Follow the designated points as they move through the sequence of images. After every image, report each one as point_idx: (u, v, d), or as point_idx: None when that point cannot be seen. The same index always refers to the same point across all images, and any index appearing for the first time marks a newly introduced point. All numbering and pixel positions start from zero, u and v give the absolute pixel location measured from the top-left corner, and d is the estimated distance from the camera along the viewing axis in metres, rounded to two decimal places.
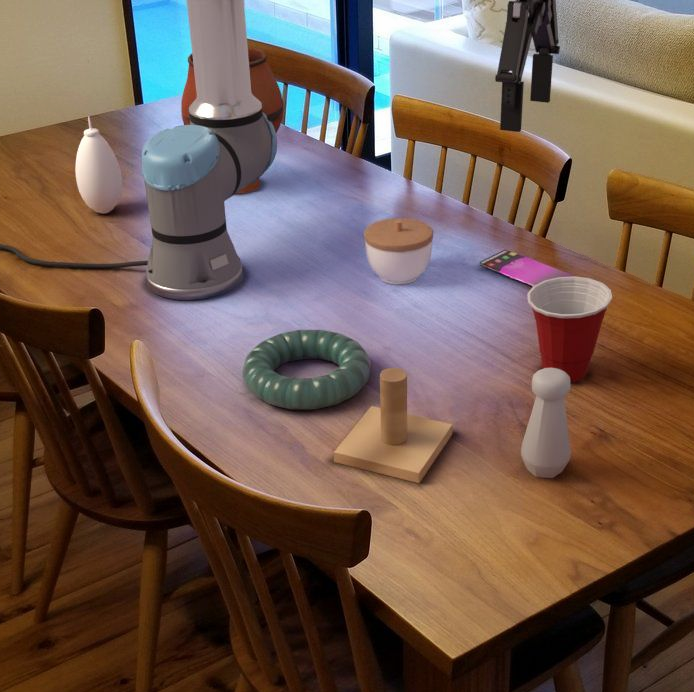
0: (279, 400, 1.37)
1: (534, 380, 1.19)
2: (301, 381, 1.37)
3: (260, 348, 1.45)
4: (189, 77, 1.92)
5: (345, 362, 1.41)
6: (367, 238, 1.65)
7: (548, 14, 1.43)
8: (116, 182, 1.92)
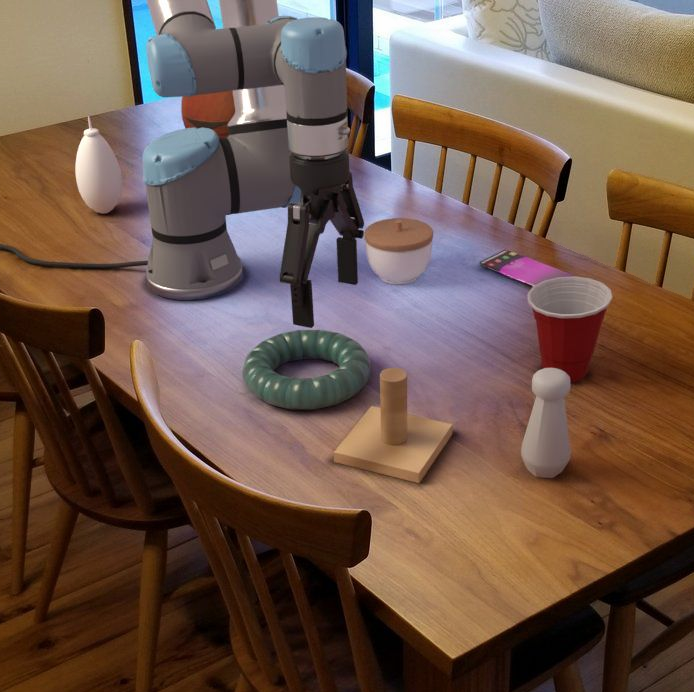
0: (279, 400, 1.37)
1: (534, 380, 1.19)
2: (301, 381, 1.37)
3: (260, 348, 1.45)
4: None
5: (345, 362, 1.41)
6: (367, 238, 1.65)
7: (341, 207, 1.39)
8: (116, 182, 1.92)
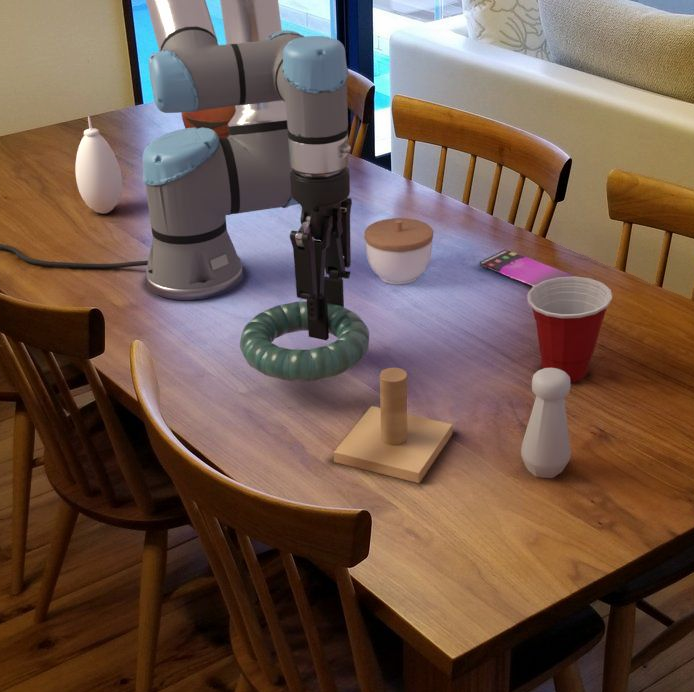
0: (276, 371, 1.35)
1: (534, 380, 1.19)
2: (299, 352, 1.35)
3: (258, 319, 1.43)
4: None
5: (344, 333, 1.39)
6: (367, 238, 1.65)
7: (338, 226, 1.40)
8: (116, 182, 1.92)
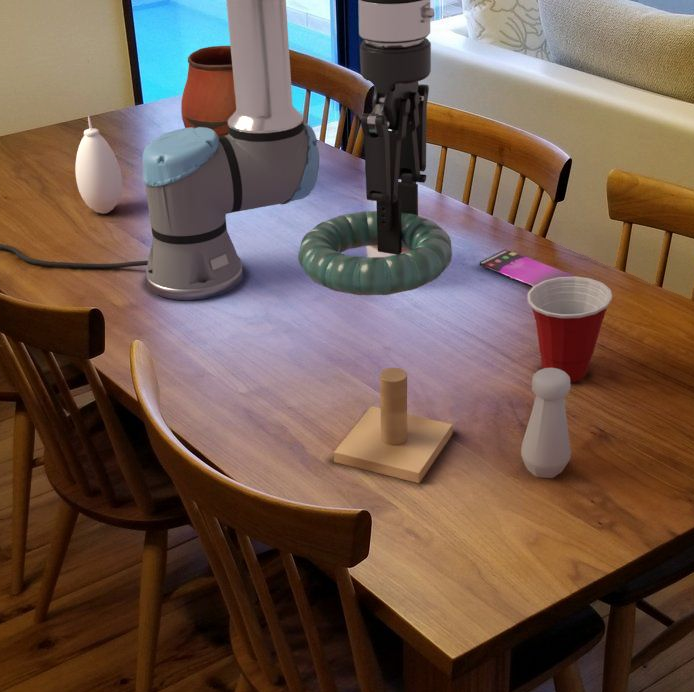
0: (345, 283, 1.13)
1: (534, 380, 1.19)
2: (371, 259, 1.13)
3: (319, 229, 1.21)
4: (189, 77, 1.92)
5: (422, 241, 1.17)
6: None
7: (415, 115, 1.18)
8: (116, 182, 1.92)
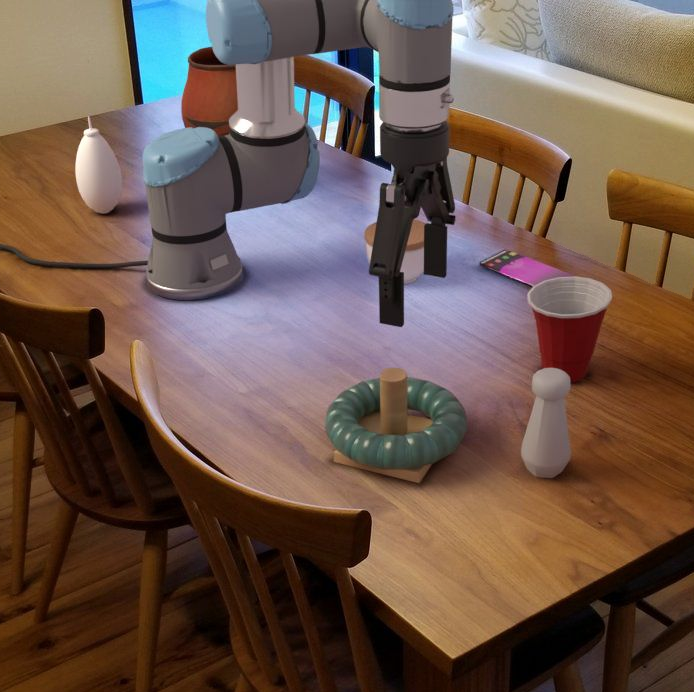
0: (369, 460, 1.23)
1: (534, 380, 1.19)
2: (394, 439, 1.23)
3: (343, 399, 1.30)
4: (189, 77, 1.92)
5: (440, 416, 1.27)
6: (367, 238, 1.65)
7: (435, 188, 1.20)
8: (116, 182, 1.92)
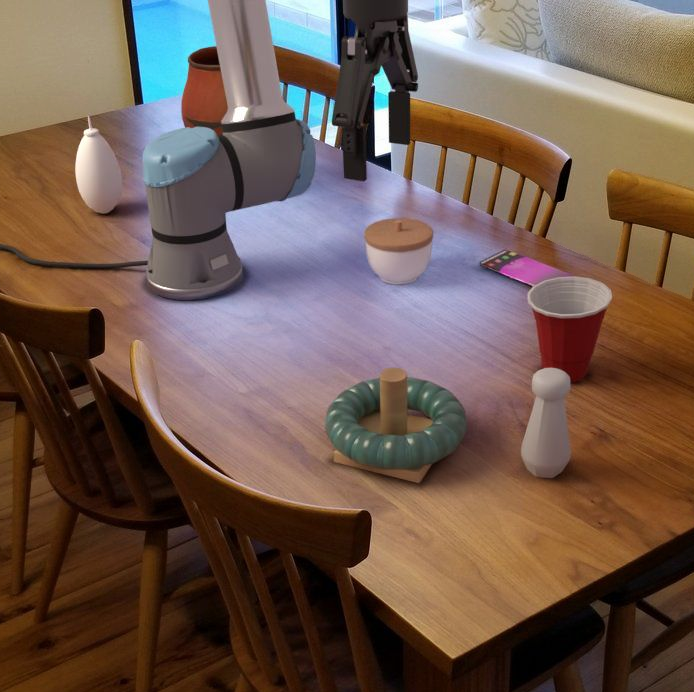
0: (369, 460, 1.23)
1: (534, 380, 1.19)
2: (394, 439, 1.23)
3: (343, 399, 1.30)
4: (189, 77, 1.92)
5: (440, 416, 1.27)
6: (367, 238, 1.65)
7: (396, 49, 1.27)
8: (116, 182, 1.92)
